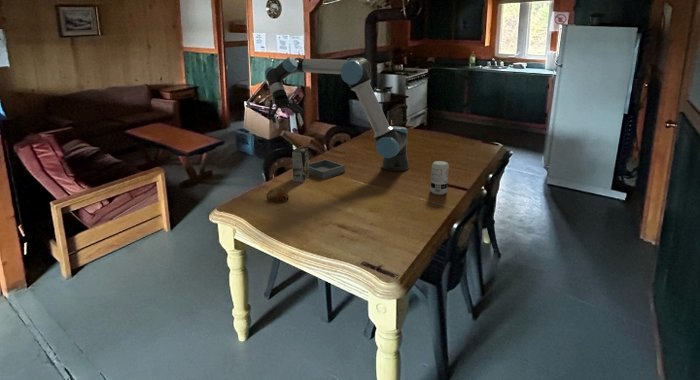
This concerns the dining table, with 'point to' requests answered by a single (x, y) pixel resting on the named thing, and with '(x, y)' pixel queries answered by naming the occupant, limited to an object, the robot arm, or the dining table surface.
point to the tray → (325, 169)
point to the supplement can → (439, 177)
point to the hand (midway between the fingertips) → (290, 126)
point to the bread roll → (277, 195)
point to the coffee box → (300, 164)
